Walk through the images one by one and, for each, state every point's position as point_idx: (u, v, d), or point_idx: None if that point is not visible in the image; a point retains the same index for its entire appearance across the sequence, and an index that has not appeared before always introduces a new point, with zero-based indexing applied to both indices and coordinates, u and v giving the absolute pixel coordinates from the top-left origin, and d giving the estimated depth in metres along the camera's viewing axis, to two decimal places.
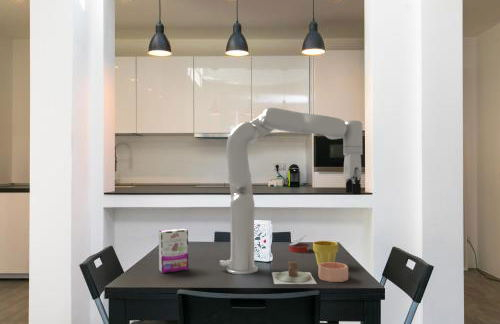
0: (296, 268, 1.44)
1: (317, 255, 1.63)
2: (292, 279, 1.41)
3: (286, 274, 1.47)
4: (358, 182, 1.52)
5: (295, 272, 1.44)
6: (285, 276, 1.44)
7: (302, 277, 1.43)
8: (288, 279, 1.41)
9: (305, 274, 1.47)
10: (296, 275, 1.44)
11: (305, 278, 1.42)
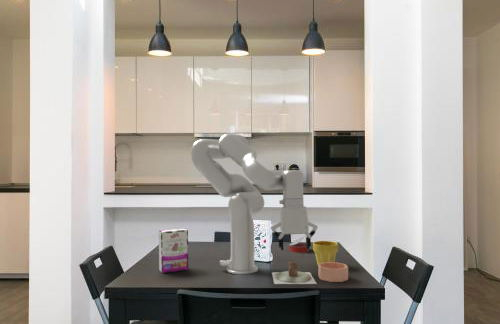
0: (296, 268, 1.44)
1: (317, 255, 1.63)
2: (292, 279, 1.41)
3: (286, 274, 1.47)
4: None
5: (295, 272, 1.44)
6: (285, 276, 1.44)
7: (302, 277, 1.43)
8: (288, 279, 1.41)
9: (305, 274, 1.47)
10: (296, 275, 1.44)
11: (305, 278, 1.42)
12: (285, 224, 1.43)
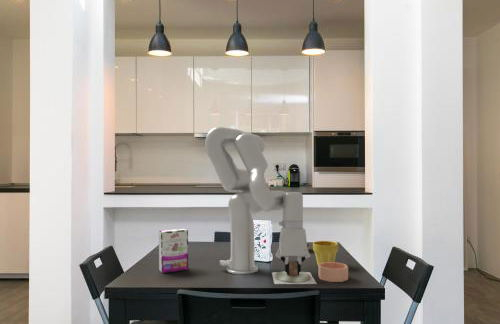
0: (296, 268, 1.44)
1: (317, 255, 1.63)
2: (292, 279, 1.41)
3: (286, 274, 1.47)
4: None
5: (295, 272, 1.44)
6: (285, 276, 1.44)
7: (302, 277, 1.43)
8: (288, 279, 1.41)
9: (305, 274, 1.47)
10: (296, 275, 1.44)
11: (305, 278, 1.42)
12: (284, 246, 1.43)
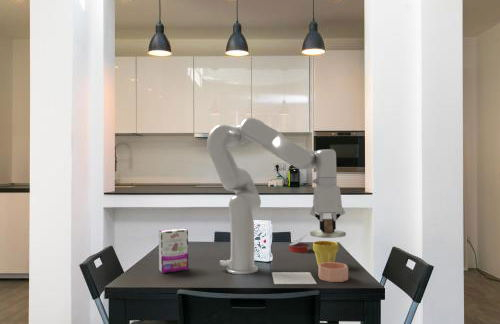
0: (331, 224, 1.44)
1: (317, 255, 1.63)
2: (328, 234, 1.41)
3: (320, 232, 1.47)
4: None
5: (330, 228, 1.44)
6: (320, 233, 1.44)
7: (337, 233, 1.43)
8: (324, 235, 1.41)
9: (339, 231, 1.47)
10: (331, 231, 1.44)
11: (341, 234, 1.42)
12: (319, 203, 1.43)
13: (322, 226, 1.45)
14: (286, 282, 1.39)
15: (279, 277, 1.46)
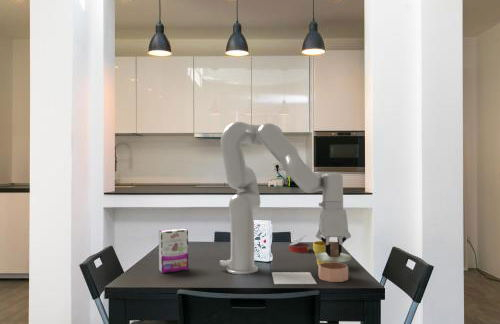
0: (337, 248, 1.44)
1: None
2: (334, 259, 1.41)
3: (326, 255, 1.47)
4: None
5: (336, 252, 1.44)
6: (326, 257, 1.44)
7: (343, 257, 1.43)
8: (330, 259, 1.41)
9: (345, 254, 1.47)
10: (337, 255, 1.44)
11: (347, 258, 1.42)
12: (325, 227, 1.43)
13: (328, 250, 1.45)
14: (286, 282, 1.39)
15: (279, 277, 1.46)
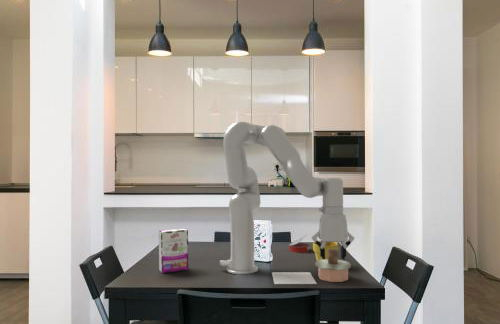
0: (336, 256, 1.44)
1: (317, 255, 1.63)
2: (333, 266, 1.41)
3: (325, 262, 1.47)
4: None
5: (335, 260, 1.44)
6: (325, 264, 1.44)
7: (342, 265, 1.43)
8: (329, 266, 1.41)
9: (344, 262, 1.47)
10: (336, 263, 1.44)
11: (346, 265, 1.42)
12: (325, 232, 1.43)
13: (322, 253, 1.45)
14: (286, 282, 1.39)
15: (279, 277, 1.46)
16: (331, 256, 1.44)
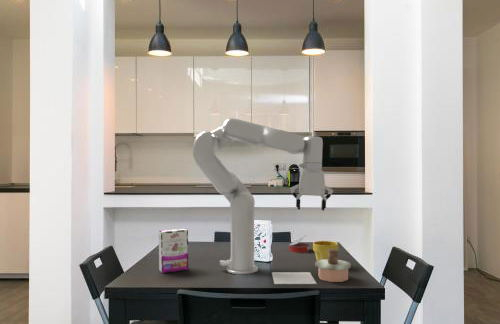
0: (336, 256, 1.44)
1: (317, 255, 1.63)
2: (333, 266, 1.41)
3: (325, 262, 1.47)
4: None
5: (335, 260, 1.44)
6: (325, 264, 1.44)
7: (342, 265, 1.43)
8: (329, 266, 1.41)
9: (344, 262, 1.47)
10: (336, 263, 1.44)
11: (346, 265, 1.42)
12: (303, 185, 1.54)
13: (298, 204, 1.56)
14: (286, 282, 1.39)
15: (279, 277, 1.46)
16: (331, 256, 1.44)
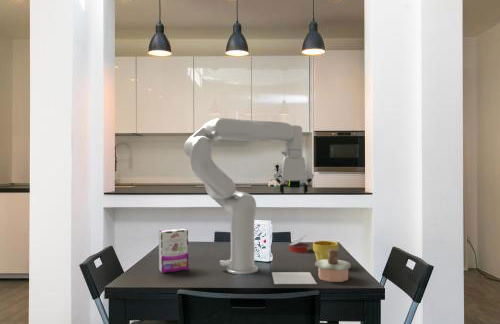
0: (336, 256, 1.44)
1: (317, 255, 1.63)
2: (333, 266, 1.41)
3: (325, 262, 1.47)
4: (308, 183, 1.68)
5: (335, 260, 1.44)
6: (325, 264, 1.44)
7: (342, 265, 1.43)
8: (329, 266, 1.41)
9: (344, 262, 1.47)
10: (336, 263, 1.44)
11: (346, 265, 1.42)
12: (286, 171, 1.65)
13: (282, 189, 1.67)
14: (286, 282, 1.39)
15: (279, 277, 1.46)
16: (331, 256, 1.44)
